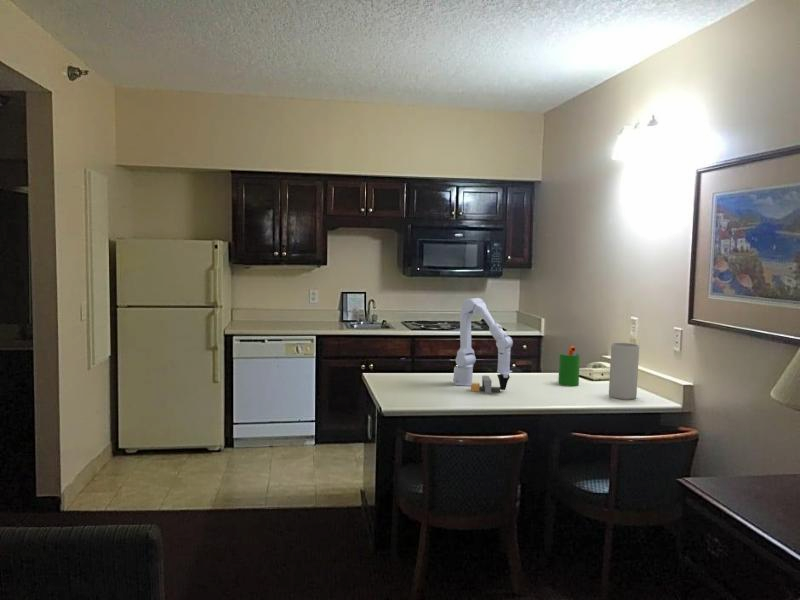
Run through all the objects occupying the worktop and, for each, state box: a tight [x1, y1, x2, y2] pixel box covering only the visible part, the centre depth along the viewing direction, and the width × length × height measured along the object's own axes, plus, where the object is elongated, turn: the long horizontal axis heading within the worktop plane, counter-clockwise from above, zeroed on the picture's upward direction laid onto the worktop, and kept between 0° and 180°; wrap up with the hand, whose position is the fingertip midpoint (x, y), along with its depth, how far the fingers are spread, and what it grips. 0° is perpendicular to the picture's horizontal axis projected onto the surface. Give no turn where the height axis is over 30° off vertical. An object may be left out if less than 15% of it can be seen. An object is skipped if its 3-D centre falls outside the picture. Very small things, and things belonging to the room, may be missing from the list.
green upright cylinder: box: [557, 346, 581, 387], centre depth 336 cm, size 10×9×20 cm
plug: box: [470, 381, 501, 393], centre depth 317 cm, size 14×4×4 cm, turn 85°
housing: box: [481, 375, 493, 395], centre depth 316 cm, size 3×12×6 cm, turn 0°
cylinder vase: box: [608, 342, 640, 400], centre depth 310 cm, size 12×12×25 cm
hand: (502, 389), depth 316 cm, fingers closed
